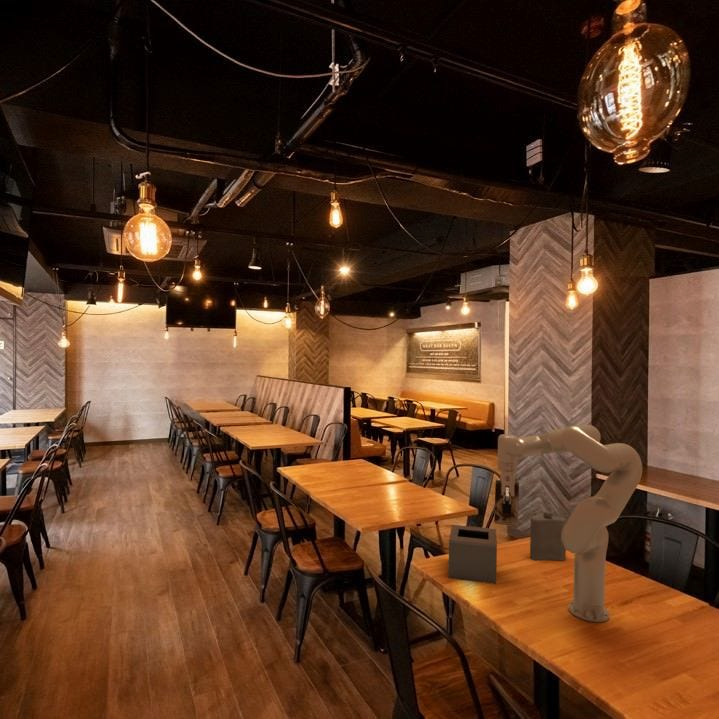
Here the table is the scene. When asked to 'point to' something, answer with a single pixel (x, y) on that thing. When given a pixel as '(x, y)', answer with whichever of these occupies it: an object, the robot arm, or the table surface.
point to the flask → (547, 537)
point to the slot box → (473, 554)
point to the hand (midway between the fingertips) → (506, 510)
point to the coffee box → (498, 515)
